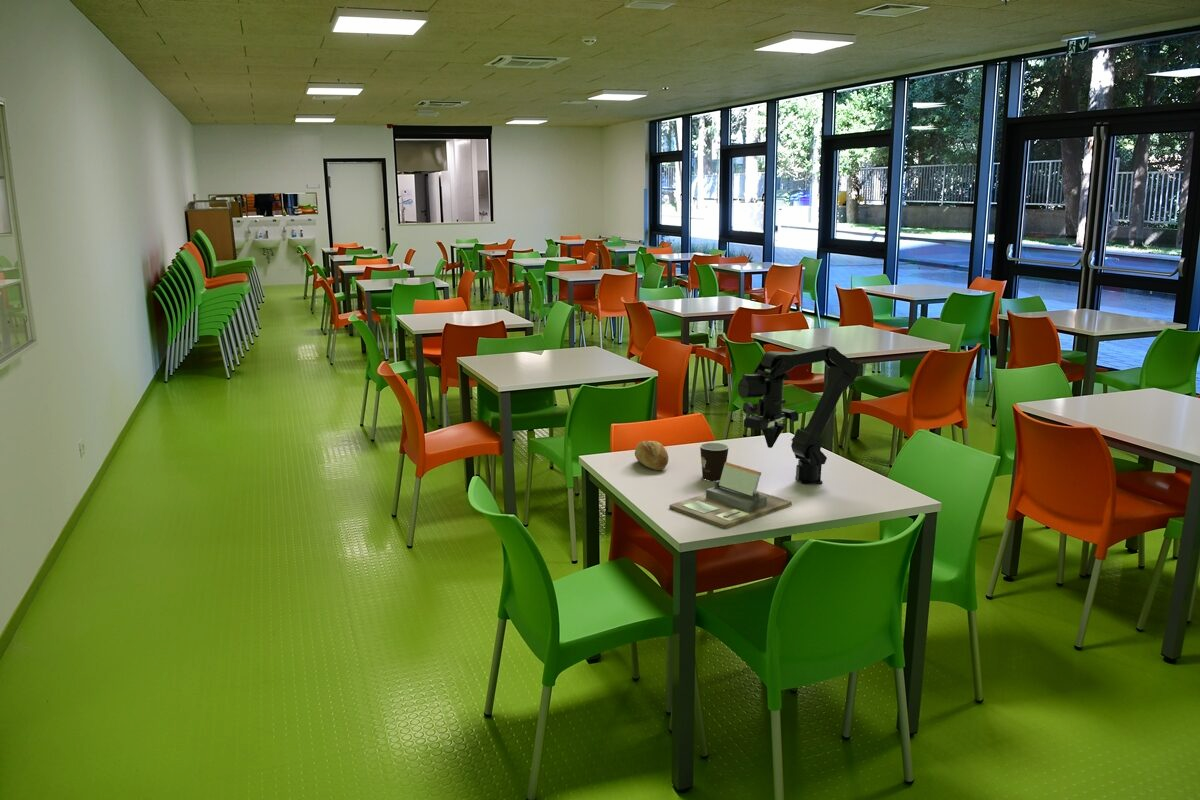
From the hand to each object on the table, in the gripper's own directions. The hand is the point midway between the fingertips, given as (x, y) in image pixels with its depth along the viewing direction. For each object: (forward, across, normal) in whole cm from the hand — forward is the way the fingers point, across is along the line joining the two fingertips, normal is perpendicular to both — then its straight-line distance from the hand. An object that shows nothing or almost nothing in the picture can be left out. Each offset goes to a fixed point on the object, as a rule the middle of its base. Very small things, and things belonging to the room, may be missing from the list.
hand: (769, 447), depth 255 cm
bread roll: (+12, +12, -37) cm, 41 cm away
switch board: (+12, +22, +5) cm, 25 cm away
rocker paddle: (+8, +20, +5) cm, 22 cm away
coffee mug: (+12, +5, -17) cm, 22 cm away
